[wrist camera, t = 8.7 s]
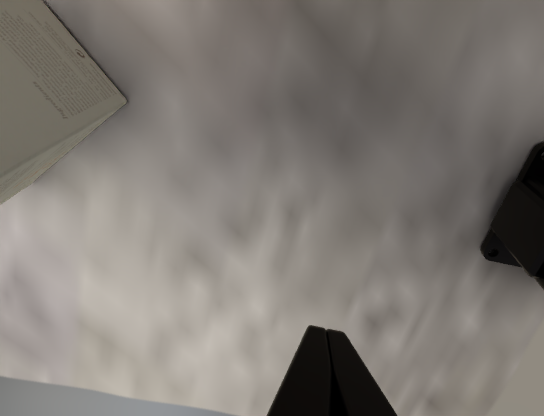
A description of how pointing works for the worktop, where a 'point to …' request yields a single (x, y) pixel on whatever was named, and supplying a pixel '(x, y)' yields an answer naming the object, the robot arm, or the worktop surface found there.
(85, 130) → the small box
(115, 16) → the worktop surface
